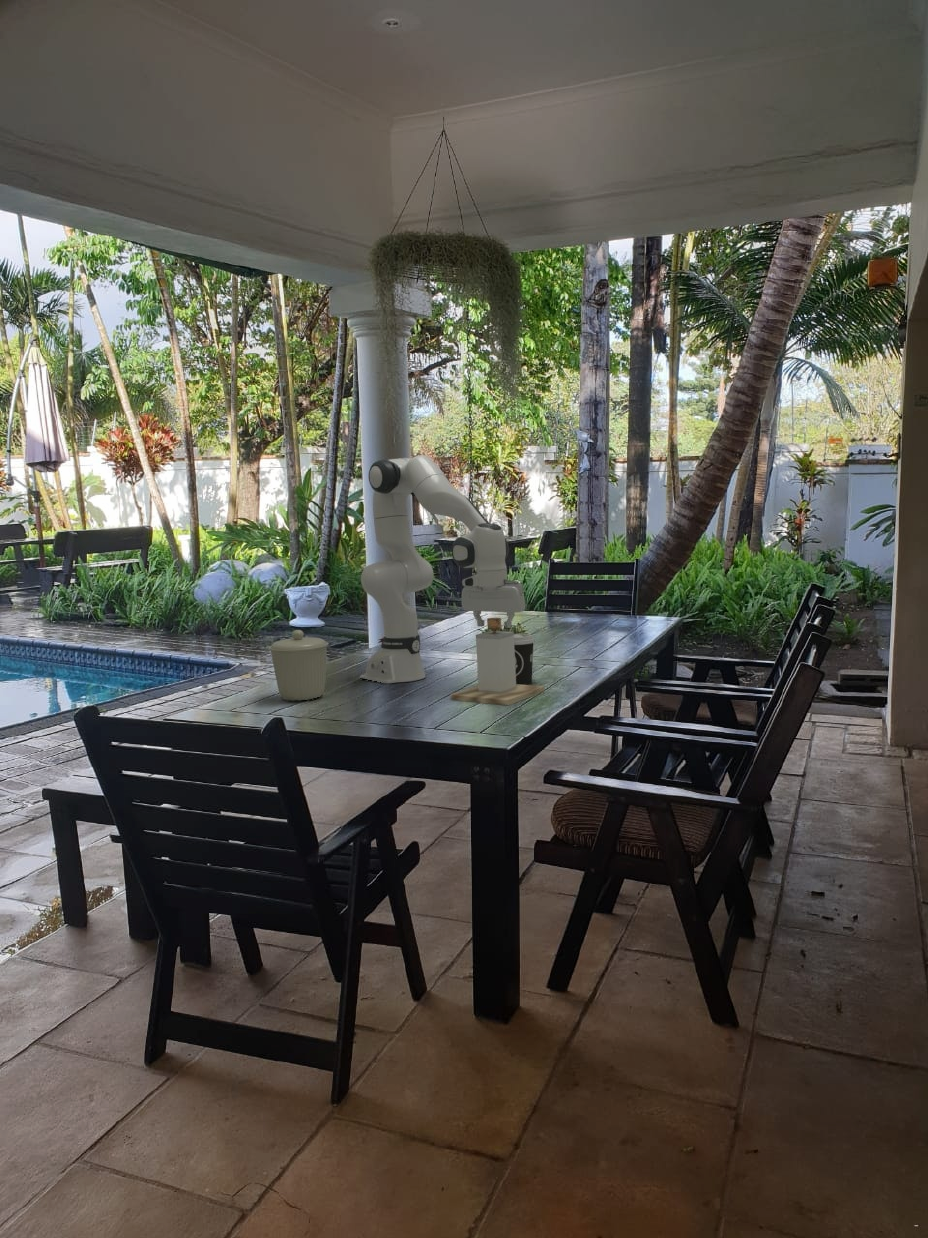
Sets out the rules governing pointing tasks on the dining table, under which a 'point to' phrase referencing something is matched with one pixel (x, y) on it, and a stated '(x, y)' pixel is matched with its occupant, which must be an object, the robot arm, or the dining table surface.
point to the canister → (300, 666)
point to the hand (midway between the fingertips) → (494, 626)
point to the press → (496, 662)
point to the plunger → (494, 624)
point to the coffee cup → (523, 658)
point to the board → (497, 695)
